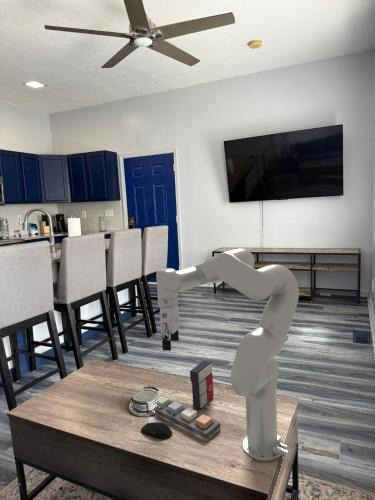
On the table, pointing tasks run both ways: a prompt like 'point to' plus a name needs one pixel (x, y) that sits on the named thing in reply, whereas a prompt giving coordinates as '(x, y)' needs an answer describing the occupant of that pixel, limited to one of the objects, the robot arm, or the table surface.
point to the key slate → (175, 408)
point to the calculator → (202, 384)
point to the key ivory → (189, 414)
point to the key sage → (162, 402)
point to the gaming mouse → (157, 430)
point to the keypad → (188, 423)
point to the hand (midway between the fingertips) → (171, 345)
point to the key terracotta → (203, 421)
